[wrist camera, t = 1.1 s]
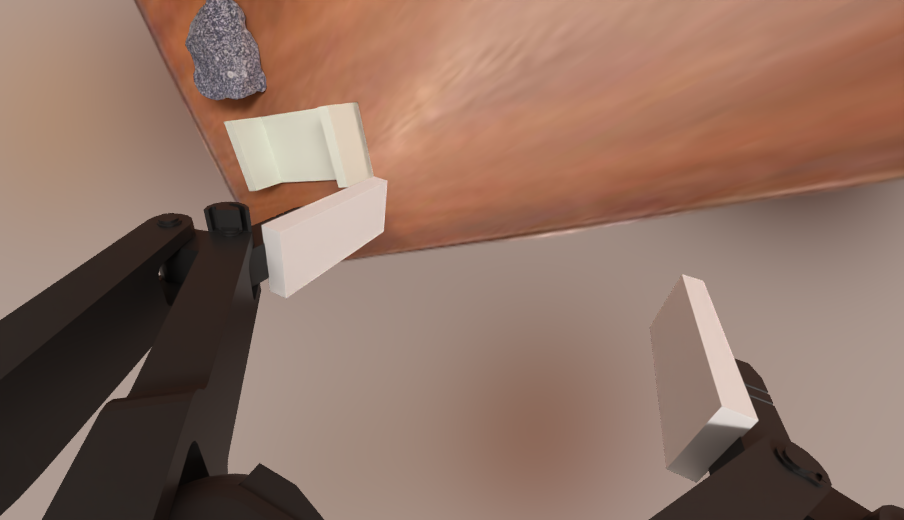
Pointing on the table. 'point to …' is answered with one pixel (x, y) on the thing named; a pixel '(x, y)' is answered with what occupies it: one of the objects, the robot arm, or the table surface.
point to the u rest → (302, 147)
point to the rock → (224, 52)
